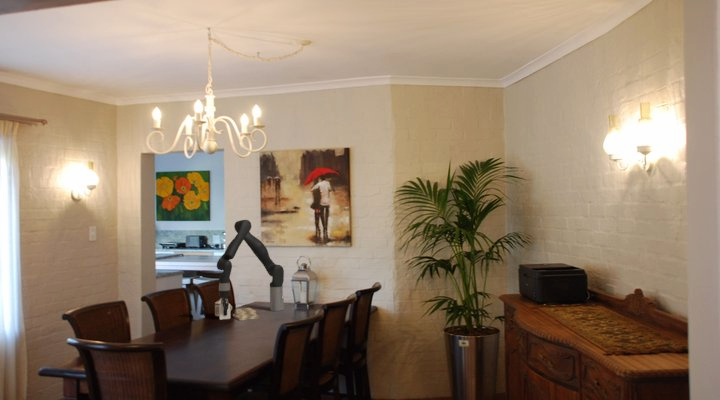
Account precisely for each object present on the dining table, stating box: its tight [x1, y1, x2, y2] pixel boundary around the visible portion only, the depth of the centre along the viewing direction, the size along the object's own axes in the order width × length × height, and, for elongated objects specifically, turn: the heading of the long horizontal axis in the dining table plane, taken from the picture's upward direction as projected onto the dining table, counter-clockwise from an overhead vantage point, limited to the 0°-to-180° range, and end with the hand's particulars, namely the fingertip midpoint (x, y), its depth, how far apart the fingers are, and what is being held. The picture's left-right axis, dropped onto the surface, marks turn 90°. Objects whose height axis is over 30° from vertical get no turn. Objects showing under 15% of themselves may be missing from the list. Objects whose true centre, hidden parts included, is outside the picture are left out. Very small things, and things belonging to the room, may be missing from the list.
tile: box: [218, 303, 231, 321], centre depth 381 cm, size 7×2×10 cm, turn 116°
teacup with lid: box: [214, 298, 233, 317], centre depth 394 cm, size 12×9×12 cm
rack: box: [232, 307, 260, 321], centre depth 385 cm, size 14×17×5 cm
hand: (224, 314), depth 381 cm, fingers closed on tile, 2 cm apart
